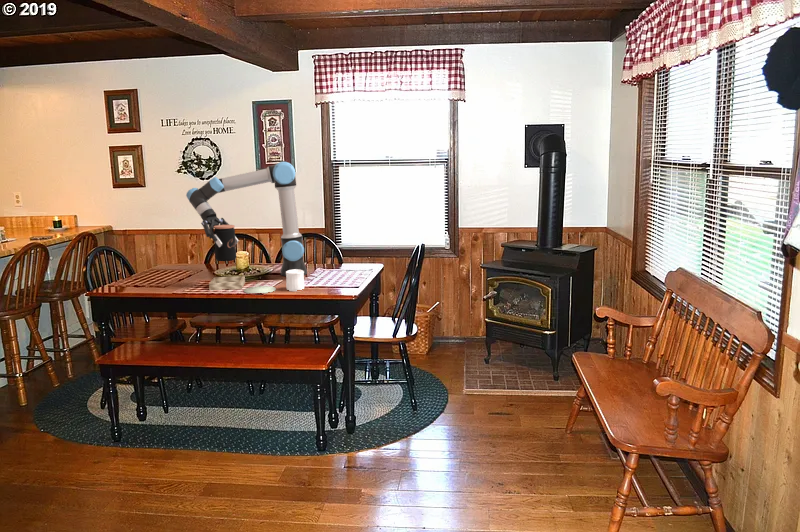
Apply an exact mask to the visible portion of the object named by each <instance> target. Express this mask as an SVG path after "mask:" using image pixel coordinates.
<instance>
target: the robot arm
mask: <svg viewBox="0 0 800 532" xmlns="http://www.w3.org/2000/svg"><path fill="white" fill-rule="evenodd" d="M266 183H270V184H274V188H275V189H276V190H277V191H278V201H279V209H280V217H281V225H282V235H281V236H280V242H281V251H282V252H281V253H282V265H281V267H280V276H283V277H286V271H288V270H294V269H299V270H303V271H304V276H305V275H307V274H308V269H307V267H306V264H305V261H304V254H305V247H304V242H303V241H304V239H303V235H302V234H301V232H300V231H299V222H298V213H297V212H298V211H297V206H296V205H297V204H296V193H295V188H296V187H297V179H296V170H295V167H294V165H292V164H291V163H290V162H287V161H280V162H278V163H275V164H272V165H269V166H267V167H266V168H263V169H259V170H258V169H257V170H254V171H249V172H245V173H240V174H235V175H231V176H226V177H221V178H218V177H216V176H214V177H212V178H211V179H209V180H208V181H207V182H206V183H205V184H203V185H202V186H201V187H200V188H197V187H192V188H190V189H189V190H188V191H187V192H186V195H185V196H186V198H187V200H188V201H189V203H190V204H191V205H192V207H193V208H194V210H195V211H196V213H197V214H198V216H200V219H202V221H201V223H200V224H201V225H202V227H203V230H204V233H205V235H206V237H207V238H209V239H212V241H213V242H214V243H215V242H216V244H217V245H218V246H219V247H220V246H221V245H222V242H221V241H220V239H219V238H218V237H217V235H216V234H215V235H214V230H215V229H214V226H216V225H230V224H229V223H228V222H227V221H226V220H225V219H224V218H223V217H221V218H218V216H217V213H216V212H215V211H214V209H213V207H212V206H211V205H210V204H209V202H208V201H209V200H210V199H211V198H213V197H214V196H216V195H217V194H219V193H220V194H221V193H224V192H225V193H226V192H229V191H233V190H238V189H244V188H247V187H252V186H257V185H258V186H259V185H262V184H266ZM234 230H235V231H236V229H235V228H234ZM239 241H240V240H239V239H238V238H237V236H236V234H235V243H236V245H237V244H238V243H239Z"/></svg>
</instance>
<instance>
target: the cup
mask: <svg viewBox="0 0 800 532" xmlns="http://www.w3.org/2000/svg"><path fill="white" fill-rule="evenodd" d="M285 277H286V279H285V283H286V285H285V287H286V291H287V290H289V291H288V292H298V291H297V290H302V289H304V290H305V275H304V271H303V270H299V269H294V270H288V271H286V276H285ZM302 291H303V290H302Z"/></svg>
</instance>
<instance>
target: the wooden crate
mask: <svg viewBox="0 0 800 532" xmlns="http://www.w3.org/2000/svg"><path fill="white" fill-rule="evenodd" d="M245 284H246V278H245V276H221V277H220V276H217V277H213V278H212V279H211V280H210V282H209V283H208V287H209V291H221V290H222V289H229V290H242V289H243V288H242V287H244V285H245ZM222 291H223V290H222Z"/></svg>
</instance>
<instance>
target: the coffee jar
mask: <svg viewBox="0 0 800 532" xmlns="http://www.w3.org/2000/svg"><path fill="white" fill-rule="evenodd" d="M234 229H235V225H234V224H229V225H220V224H219V225H216V226H214V235H215V234H216V235H217V237H218V238H219V239H220V241H221V242H222V245H221V246H220V247H219V246H218V245H217V244H216V242H214V252H215V260H216V261H217V262H231V261H235V260H236V259H237V247H236V245H237V244H236V243H235V235H236V229H235V230H234Z"/></svg>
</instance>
